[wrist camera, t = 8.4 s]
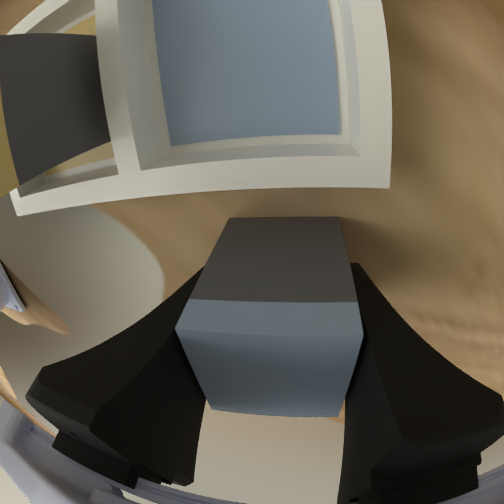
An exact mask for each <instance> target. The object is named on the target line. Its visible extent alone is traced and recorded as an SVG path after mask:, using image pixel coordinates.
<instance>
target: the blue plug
mask: <svg viewBox="0 0 504 504" xmlns="http://www.w3.org/2000/svg"><path fill="white" fill-rule="evenodd" d="M175 330H176V332H177V334H178V337H179V339H180V342H181V344H182V346H183V349H184V351H185V353H186V356H187V358H188V360H189V362H190V365H191V367H192V369H193V371H194V373H195V376H196V378H197V380H198V382H199V384H200V386H201V388H202V390H203V392H204V395H205V397H206V399H207V401H208V403H209V405H210V407H211V408H212V409H213V410H220V411H229V412H236V413H246V414H256V415H257V414H258V415H269V416H288V417H338V415H339V413H340V410H341V407H342V404H343V401H344V399H345V396H346V393H347V390H348V387H349V384H350V380H351V377H352V374H353V371H354V367H355V364H356V361H357V357H358V354H359V350H360V346H361V343H362V339H363V329H362V323H361V317H360V311H359V306H358V301H357V295H356V290H355V285H354V281H353V276H352V271H351V267H350V262H349V258H348V253H347V249H346V245H345V241H344V237H343V233H342V229H341V225H340V221H339V217H258V218H229V220H228V222H227V223H226V225H225V227H224V229H223V231H222V233H221V235H220V237H219V239H218V241H217V243H216V245H215V247H214V249H213V251H212V253H211V255H210V257H209V259H208V261H207V263H206V265H205V267H204V269H203V271H202V273H201V275H200V277H199V279H198V281H197V283H196V285H195V287H194V289H193V291H192V293H191V295H190V298H189V300H188V302H187V304H186V306H185V308H184V310H183V312H182V314H181V316H180V319H179V321H178V323H177V325H176V327H175Z"/></svg>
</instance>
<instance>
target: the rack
mask: <svg viewBox="0 0 504 504" xmlns="http://www.w3.org/2000/svg"><path fill="white" fill-rule="evenodd" d="M27 33H66V34H83V35H94V36H96V40H97V52H98V62H99V71H100V79H101V86H102V93H103V99H104V106H105V112H106V117H107V123H108V128H109V133H110V138H111V141H110V142H108V143H105V144H103V145H101V146H98V147H96V148H94V149H91V150H89V151H87V152H84V153H82V154H80V155H78V156H76V157H74V158H71V159H69V160H67V161H65V162H63V163H61V164H59V165H57V166H55V167H53V168H51V169H49V170H47V171H46V172H44V173H42V174H40V175H38V176H36V177H34V178H33V179H31V180H29V181H27V182H26V183H24V184H22V185H20V186H19V187H17V188H15V189H14V190H12V191H11V192H9V193H10V196H11V199H12V202H13V205H14V208H15V211H16V213H17V216H23V215H28V214H33V213H38V212H44V211H50V210H55V209H61V208H67V207H73V206H80V205H87V204H94V203H101V202H108V201H116V200H124V199H132V198H141V197H150V196H160V195H171V194H182V193H194V192H208V191H223V190H241V189H264V188H301V187H354V188H389V187H390V173H391V153H392V93H391V74H390V61H389V51H388V42H387V34H386V26H385V20H384V14H383V8H382V2H381V0H46V1H44V2H43V3H42V4H41V5H39V6H38V7H37V8H35V9H34V10H33V11H32V12H31V13H29V14H28V15H27V16H26V17H25V18H24V19H22V20H21V21H20V22H19V23H18V24H17V25H16V26H15V27H13V28H12V29H11V30H10V31H9V32H8V33H7V34H6V35H11V34H27Z"/></svg>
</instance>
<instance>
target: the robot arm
mask: <svg viewBox="0 0 504 504" xmlns="http://www.w3.org/2000/svg"><path fill="white" fill-rule="evenodd" d="M204 267H205V266H204ZM204 267H203V268H201V269H200V270H199V271H198V272H197V273H196V274H195V275H194V276H193V277H191V278H190V279H189V280H188V281H187V282H186V283H185V284H184V285H182V286H181V287H180V288H179V289H178V290H177V291H176V292H175V293H173V294H172V295H171V296H170V297H169V298H167V299H166V300H165V301H164V302H162V303H161V304H160V305H159V306H158V307H156V308H155V309H154V310H153V311H151V312H150V313H149V314H148V315H146V316H145V317H143V318H142V319H140V320H139V321H138V322H136V323H135V324H133V325H132V326H130V327H129V328H127V329H125V330H124V331H122V332H120V333H119V334H117V335H115V336H113V337H112V338H110V339H108V340H107V341H105V342H103V343H101V344H99V345H97V346H95V347H93V348H91V349H89V350H87V351H85V352H82V353H80V354H78V355H75V356H73V357H70V358H68V359H65V360H62V361H59V362H56V363H54V364H51V365H48V366H44V367H43V368H42V369H41V370H40V372H39V374H38V375H37V377H36V379H35V380H34V382H33V384H32V385H31V387H30V389H29V390H28V392H27V394H26V395H25V397H26V400H27V401H28V403H29V404H30V405H31V406H32V407H33V408H34V409H35V410H36V411H37V412H38V413H40V414H41V415H42V416H43V417H44V418H45V419H47V420H48V421H49V422H50V423H51V424H53V425H54V426H55V427H56V428H58V429H59V432H58V434H57V436H56V437H54V436H52V435H51V434H49V433H48V432H46V431H44V430H43V429H41V428H40V427H38V426H37V425H35V424H34V423H33V422H32V421H31V420H30V419H29V418H28V417H26V416H25V415H24V414H23V413H22V412H20V411H19V410H18V409H16V408H15V407H14V406H12V405H11V404H10V403H9V402H7V401H6V400H4V401H3V403H2V405H1V406H0V466H1V467H2V468H3V470H4V471H5V472H6V473H7V475H8V476H9V477H10V479H11V480H12V481H13V482H14V484H15V485H16V486H17V487H18V489H19V490H20V491H21V492H22V493H23V495H24V496H25V497H26V498H27V499H28V500H29V501H30V503H31V504H140V503H137V502H134V501H131V500H129V499H126V498H125V497H124V496H123V493H122V491H121V490H124V491H126V492H129V493H131V494H133V495H136V496H139V497H141V498H144V499H147V500H149V501H152V502H155V503H158V504H245V503H238V502H231V501H226V500H220V499H214V498H210V497H205V496H200V495H196V494H192V493H188V492H184V491H180V490H177V489H173V488H170V487H166V486H163V485H160V484H161V482H163V483H166V484H170V485H171V484H172V483H174V484H177V485H181V486H187V485H189V484H191V483H193V482H194V471H195V463H196V454H197V447H198V441H199V434H200V428H201V423H202V417H203V412H204V407H205V402H206V397H205V395H204V392H203V390H202V388H201V386H200V384H199V382H198V380H197V378H196V376H195V373H194V371H193V369H192V367H191V365H190V362H189V360H188V358H187V356H186V353H185V351H184V349H183V346H182V344H181V342H180V339H179V337H178V334H177V332H176V330H175V327H176V325H177V323H178V321H179V319H180V316H181V314H182V312H183V310H184V308H185V306H186V304H187V302H188V300H189V298H190V295H191V293H192V291H193V289H194V287H195V285H196V283H197V281H198V279H199V277H200V275H201V273H202V271H203V269H204ZM350 267H351V271H352V276H353V281H354V285H355V290H356V295H357V301H358V306H359V311H360V317H361V323H362V329H363V339H362V343H361V346H360V350H359V354H358V357H357V361H356V364H355V367H354V371H353V374H352V377H351V380H350V384H349V387H348V390H347V393H346V396H345V430H344V447H343V460H342V469H341V477H340V485H339V492H338V499H337V504H504V464H503V465H502V466H499V467H497V468H495V469H493V470H491V471H488V472H486V473H484V474H481V475H479V476H478V475H477V466H478V465H480V464H481V454H480V453H481V452H482V451H483V450H485V449H486V448H488V447H489V446H490V445H492V444H493V443H494V442H496V441H497V440H498V439H499V438H500V437H502V436H503V435H504V401H503V398H502V396H501V395H500V394H498V393H497V392H495V391H493V390H492V389H490V388H488V387H486V386H485V385H483V384H481V383H480V382H478V381H476V380H475V379H473V378H472V377H470V376H469V375H467V374H466V373H465V372H463V371H462V370H460V369H459V368H457V367H456V366H455V365H453V364H452V363H451V362H449V361H448V360H447V359H446V358H444V357H443V356H442V355H441V354H440V353H438V352H437V351H436V350H435V349H434V348H432V347H431V346H430V345H429V344H428V343H427V342H426V341H425V340H424V339H423V338H421V337H420V336H419V335H418V334H417V333H416V332H415V331H414V330H413V329H412V328H411V327H410V326H409V325H408V324H407V323H406V322H405V321H404V319H403V318H402V317H401V316H400V315H399V314H398V313H397V312H396V310H395V309H394V308H393V307H392V306H391V304H390V303H389V302H388V301H387V300H386V298H385V297H384V296H383V295H382V293H381V292H380V291H379V290H378V288H377V287H376V286H375V284H374V283H373V282H372V280H371V279H370V278H369V276H368V275H367V274H366V272H365V271H364V270H363V268H362V267H361V266H360V264H359V263H350ZM4 307H7V308H10V309H14V310H17V311H20V312H23V311H24V310H25V307H24V305H23V303H22V302H21V300H20V298H19V296H18V295H17V293H16V291H15V289H14V288H13V286H12V284H11V282H10V280H9V278H8V276H7V274H6V272H5V270H4V268H3V266H2V264H1V262H0V312H1V310H2V309H3V308H4ZM120 489H121V490H120Z"/></svg>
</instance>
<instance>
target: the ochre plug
mask: <svg viewBox="0 0 504 504" xmlns="http://www.w3.org/2000/svg"><path fill="white" fill-rule="evenodd" d="M110 141H111V138H110V133H109V128H108V123H107V117H106V112H105V106H104V99H103V93H102V86H101V79H100V71H99V62H98V52H97V40H96V36H94V35H83V34H66V33H27V34H11V35H1V36H0V198H1V197H2V196H4V195H6V194H7V193H9V192H11V191H12V190H14V189H15V188H17V187H19V186H20V185H22V184H24V183H26V182H27V181H29V180H31V179H33V178H34V177H36V176H38V175H40V174H42V173H44V172H46V171H47V170H49V169H51V168H53V167H55V166H57V165H59V164H61V163H63V162H65V161H67V160H69V159H71V158H74V157H76V156H78V155H80V154H82V153H84V152H87V151H89V150H91V149H94V148H96V147H98V146H101V145H103V144H105V143H108V142H110Z"/></svg>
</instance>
